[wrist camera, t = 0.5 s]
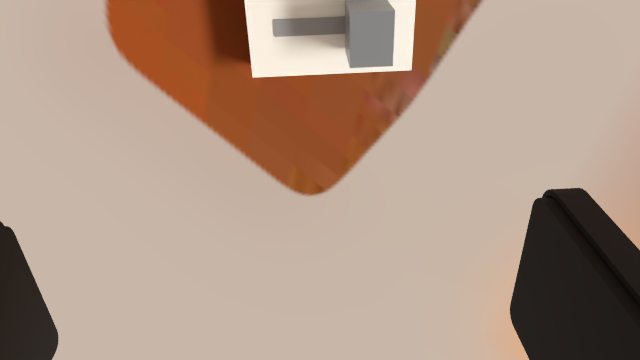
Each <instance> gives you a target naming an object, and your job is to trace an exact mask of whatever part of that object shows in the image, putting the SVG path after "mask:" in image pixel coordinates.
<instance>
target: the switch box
mask: <svg viewBox="0 0 640 360" xmlns="http://www.w3.org/2000/svg"><path fill="white" fill-rule="evenodd" d="M388 1H389V3H390V4H391V6H392V7H393V8H394V10H395V27H394V50H393V66H385V67H364V68H350V67H349V63H348V60H347V56H346V52H345V0H244V2H245V11H246V20H247V30H248V39H249V48H250V57H251V67H252V76H253V77H274V76H296V75H318V74H339V73H361V72H382V71H404V70H411V68H412V53H413V37H414V21H415V6H416V0H388Z"/></svg>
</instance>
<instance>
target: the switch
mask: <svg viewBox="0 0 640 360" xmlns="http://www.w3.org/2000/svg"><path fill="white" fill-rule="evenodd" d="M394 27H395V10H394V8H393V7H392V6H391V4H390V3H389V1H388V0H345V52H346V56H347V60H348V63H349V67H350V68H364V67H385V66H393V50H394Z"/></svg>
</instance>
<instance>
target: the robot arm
mask: <svg viewBox="0 0 640 360" xmlns="http://www.w3.org/2000/svg"><path fill="white" fill-rule="evenodd" d="M510 315H511V320H512V324H513V326H514V328H515V330H516V332H517V335H518V337H519V339H520V341H521V343H522V345H523V347H524V349H525V351H526V353H527V355H528V357H529V360H640V250H639V249H638V248H637V247H636V246H635V245H634V244H633V243H632V241H631V240H630V239H629V238H628V237H627V236H626V235H625V234H624V233H623V232H622V231H621V229H620V228H619V227H618V226H617V225H616V224H615V223H614V222H613V221H612V219H611V218H610V217H609V216H608V215H607V214H606V213H605V212H604V211H603V210H602V208H601V207H600V206H599V205H598V204H597V203H596V202H595V201H594V200H593V199H592V198H591V196H590V195H589V194H588V193H587V192H586V191H585V190H583V189H581V188H571V189H551V190H547V191H546V192H545V193H544V194H543V197H542V198H537V199H536V200H535V201H534V203H533V206H532V211H531V215H530V220H529V224H528V229H527V233H526V238H525V242H524V247H523V251H522V255H521V260H520V265H519V269H518V273H517V278H516V282H515V287H514V292H513V296H512V300H511V306H510ZM57 345H58V332H57V329H56V327H55V325H54V322H53V320H52V318H51V315H50V313H49V311H48V309H47V306H46V304H45V302H44V300H43V298H42V295H41V293H40V291H39V288H38V286H37V284H36V282H35V279H34V277H33V275H32V273H31V270H30V268H29V266H28V263H27V261H26V259H25V257H24V254H23V252H22V250H21V247H20V245H19V243H18V241H17V238H16V236H15V234H14V232H13V230H12V229H11V228H10V227H7V226H4V225H3V223H2V222H0V360H52V358H53V356H54V354H55V352H56V349H57Z"/></svg>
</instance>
